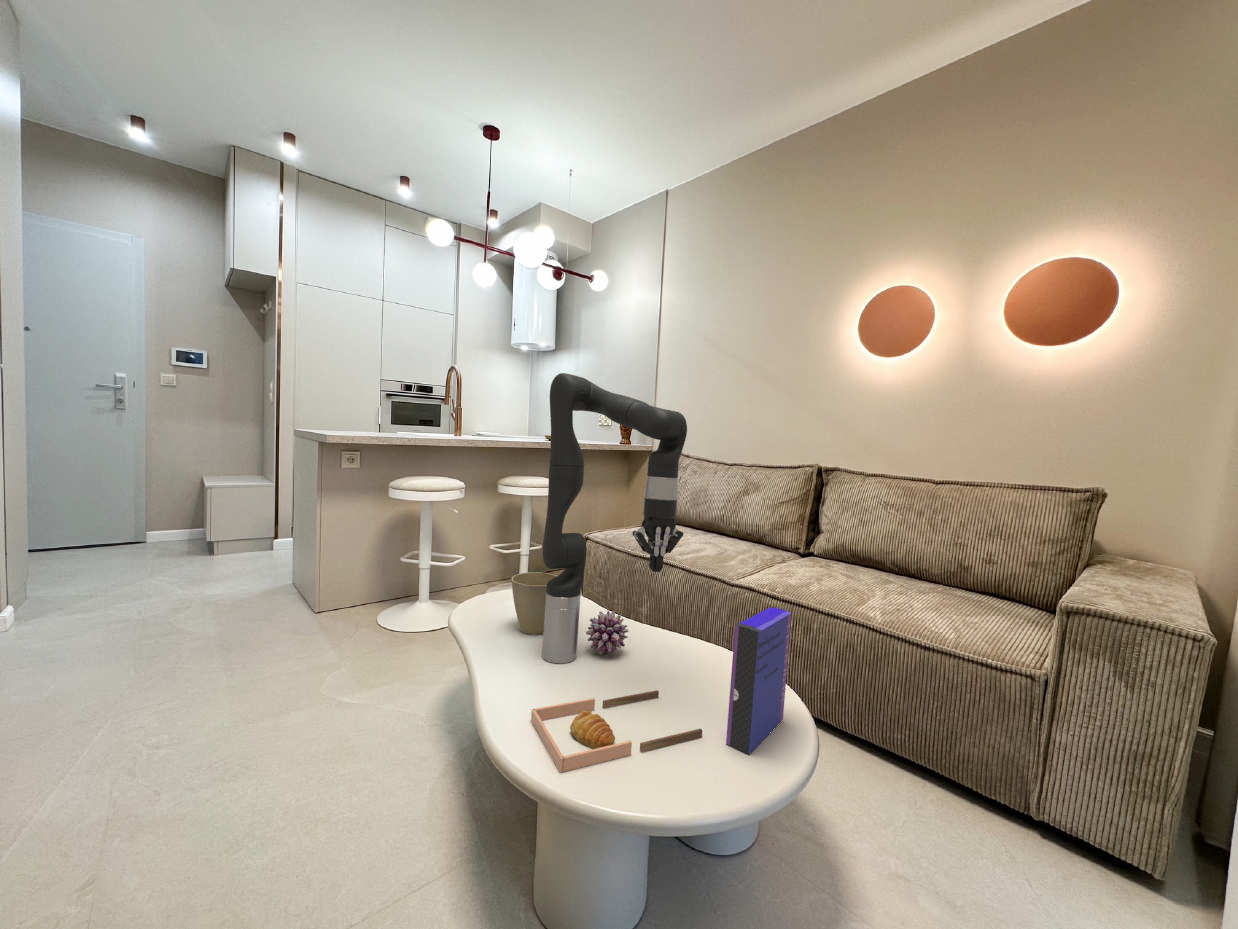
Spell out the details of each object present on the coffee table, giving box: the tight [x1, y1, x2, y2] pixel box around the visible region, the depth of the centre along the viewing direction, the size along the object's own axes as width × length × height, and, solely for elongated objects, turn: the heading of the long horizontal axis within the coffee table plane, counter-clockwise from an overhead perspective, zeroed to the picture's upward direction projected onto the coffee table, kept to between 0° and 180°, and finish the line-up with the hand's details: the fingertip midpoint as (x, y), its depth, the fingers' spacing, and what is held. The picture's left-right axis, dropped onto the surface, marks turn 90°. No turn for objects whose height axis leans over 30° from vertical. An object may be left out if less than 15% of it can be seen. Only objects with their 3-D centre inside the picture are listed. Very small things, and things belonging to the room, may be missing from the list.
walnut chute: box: [602, 689, 703, 753], centre depth 103 cm, size 17×14×2 cm
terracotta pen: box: [530, 697, 633, 774], centre depth 95 cm, size 17×14×2 cm
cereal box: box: [725, 606, 792, 756], centre depth 101 cm, size 17×5×24 cm, turn 141°
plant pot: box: [511, 571, 558, 635], centre depth 149 cm, size 15×15×16 cm
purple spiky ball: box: [585, 610, 629, 655], centre depth 136 cm, size 12×12×12 cm
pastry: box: [569, 711, 616, 749], centre depth 95 cm, size 9×7×4 cm
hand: (655, 571), depth 113 cm, fingers closed
